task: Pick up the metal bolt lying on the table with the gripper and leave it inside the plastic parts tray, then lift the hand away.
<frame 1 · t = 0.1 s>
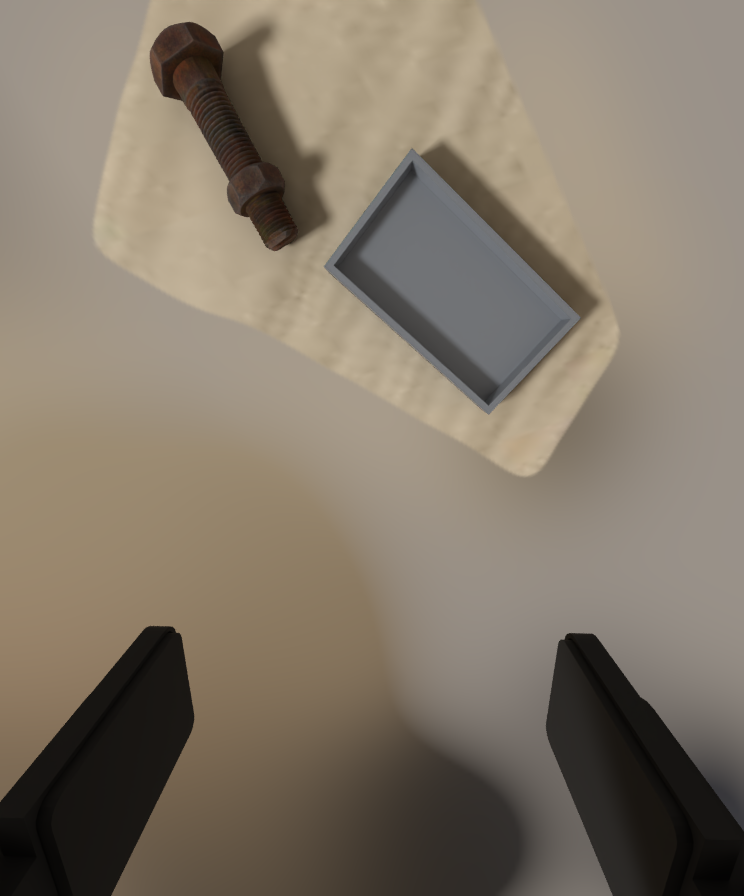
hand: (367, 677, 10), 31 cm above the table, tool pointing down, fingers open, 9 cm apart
bolt: (245, 167, 34), on the table
parts tray: (448, 295, 36), on the table
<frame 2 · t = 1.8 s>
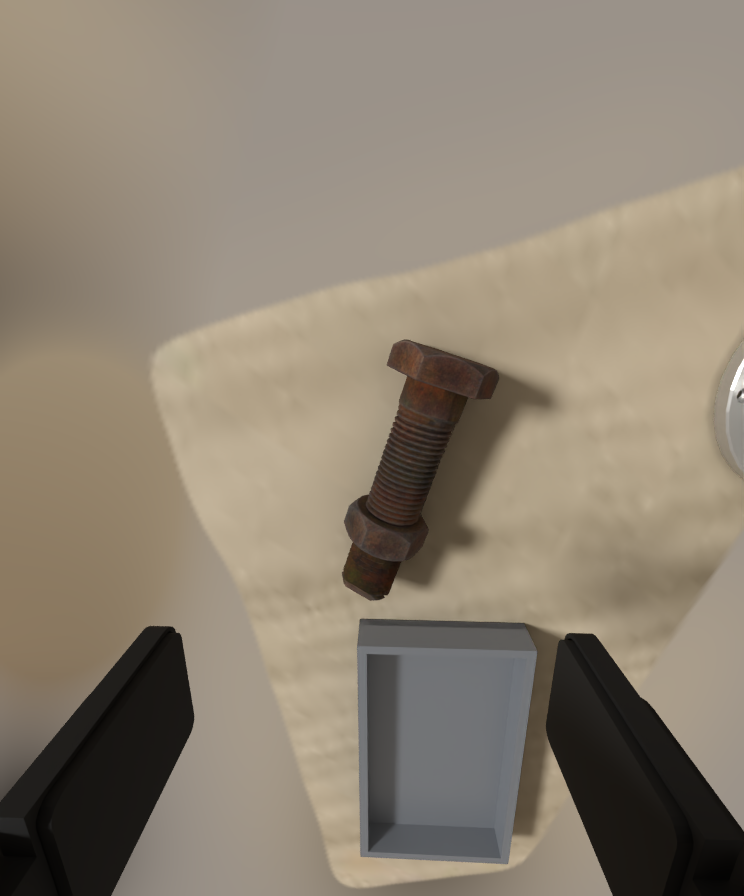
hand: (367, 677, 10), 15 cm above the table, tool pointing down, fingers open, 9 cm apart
bolt: (399, 466, 25), on the table
parts tray: (435, 730, 30), on the table
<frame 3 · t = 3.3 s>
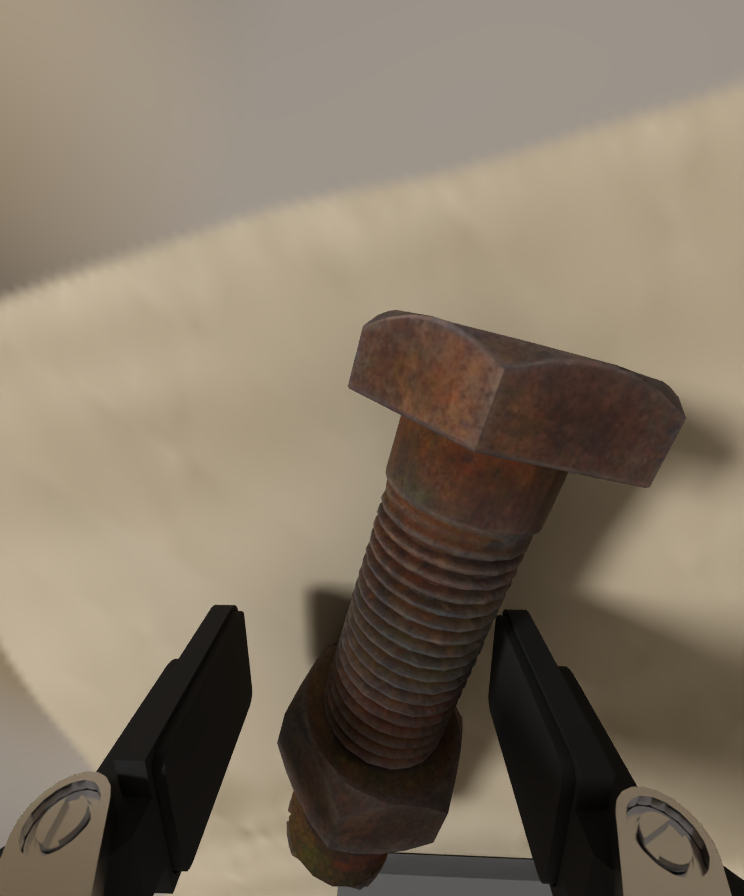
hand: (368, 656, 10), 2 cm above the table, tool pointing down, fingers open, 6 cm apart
bolt: (381, 580, 12), on the table, touching gripper
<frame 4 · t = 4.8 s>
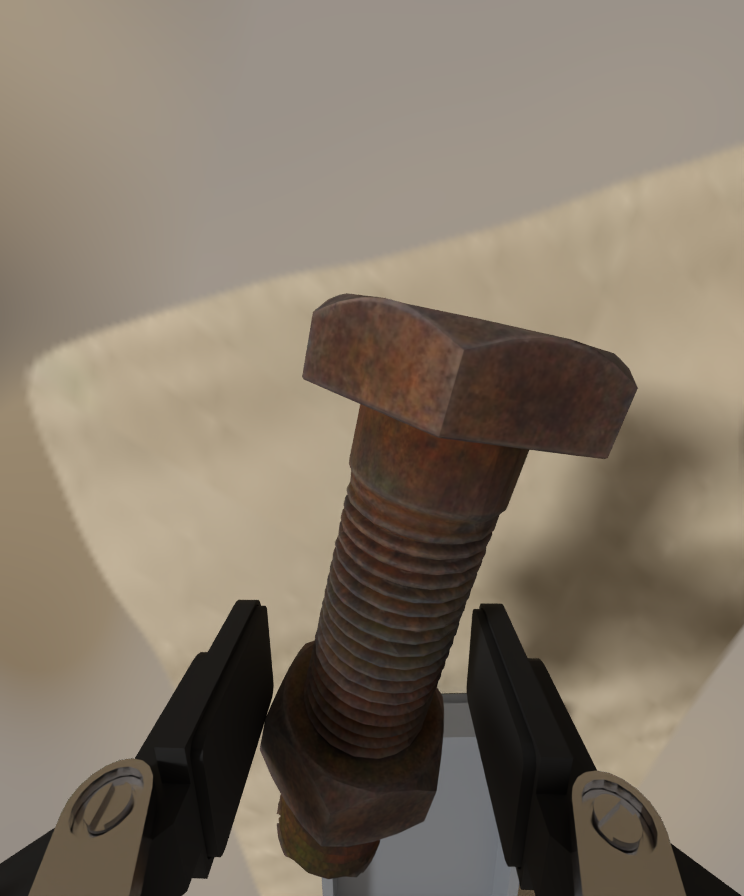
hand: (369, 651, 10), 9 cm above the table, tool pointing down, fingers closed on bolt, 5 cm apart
bolt: (353, 571, 12), point 7 cm above the table, touching gripper
parts tray: (416, 820, 24), on the table
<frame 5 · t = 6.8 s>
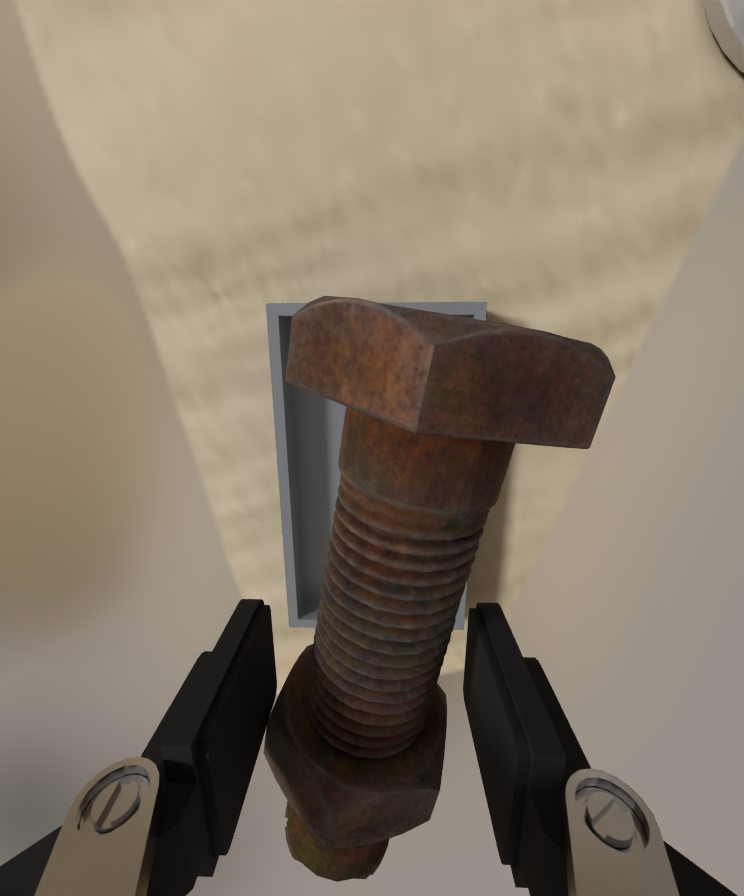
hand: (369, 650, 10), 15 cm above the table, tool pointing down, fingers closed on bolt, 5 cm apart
bolt: (351, 572, 12), point 13 cm above the table, touching gripper
parts tray: (376, 471, 25), on the table
when the fingers open (3 cm above the table, at t = 9.3 s): bolt drops 1 cm, resting on parts tray.
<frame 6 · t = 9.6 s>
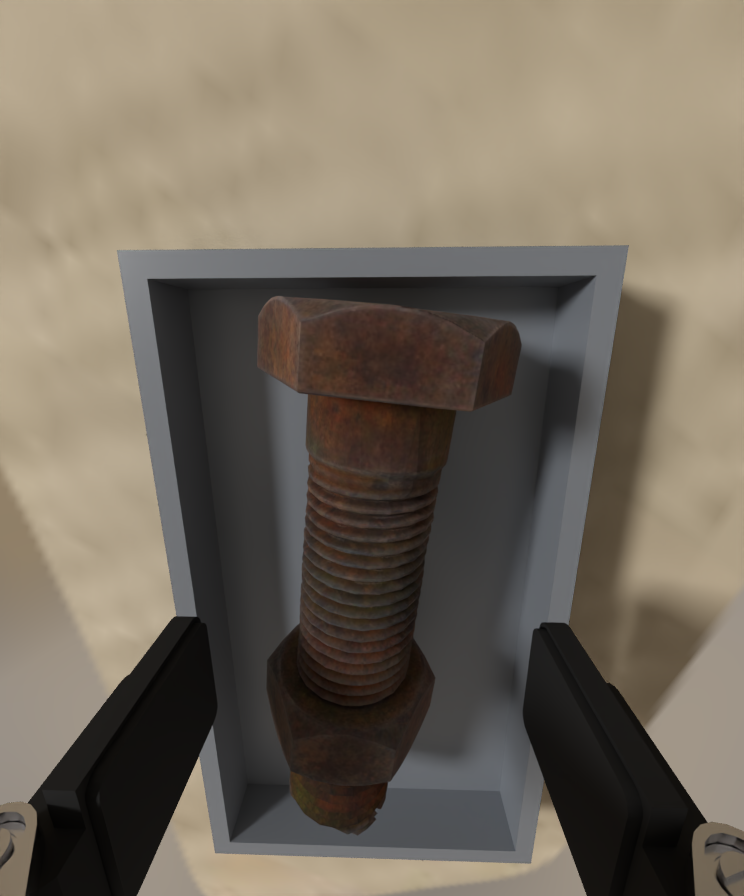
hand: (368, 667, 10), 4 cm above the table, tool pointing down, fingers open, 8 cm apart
bolt: (360, 550, 13), resting on parts tray
parts tray: (372, 575, 14), on the table
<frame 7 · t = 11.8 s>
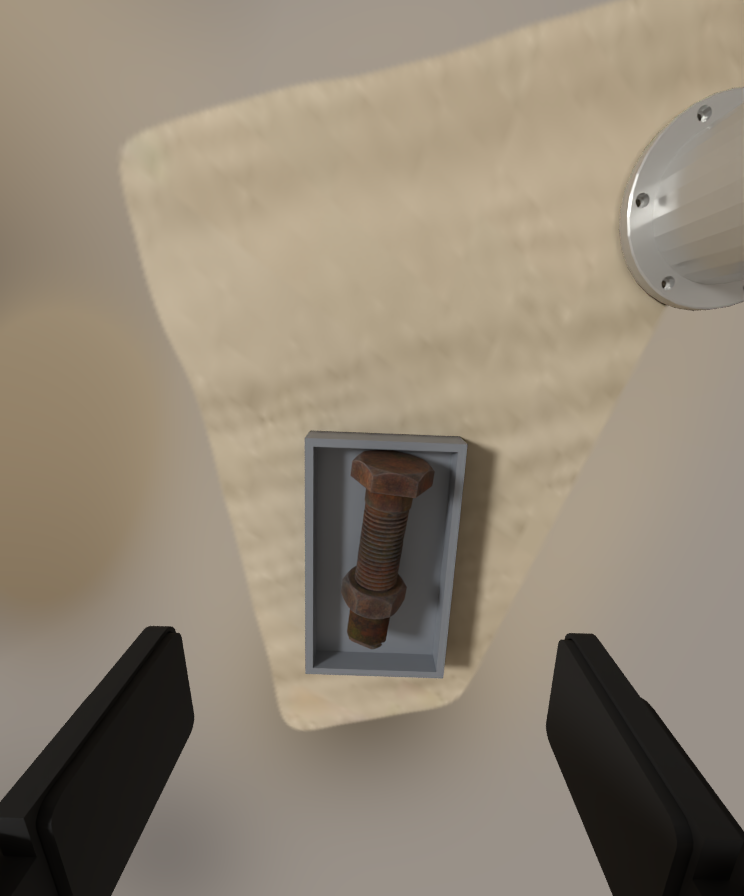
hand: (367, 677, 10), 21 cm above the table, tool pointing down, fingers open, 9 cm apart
bolt: (377, 538, 31), resting on parts tray
parts tray: (379, 551, 32), on the table
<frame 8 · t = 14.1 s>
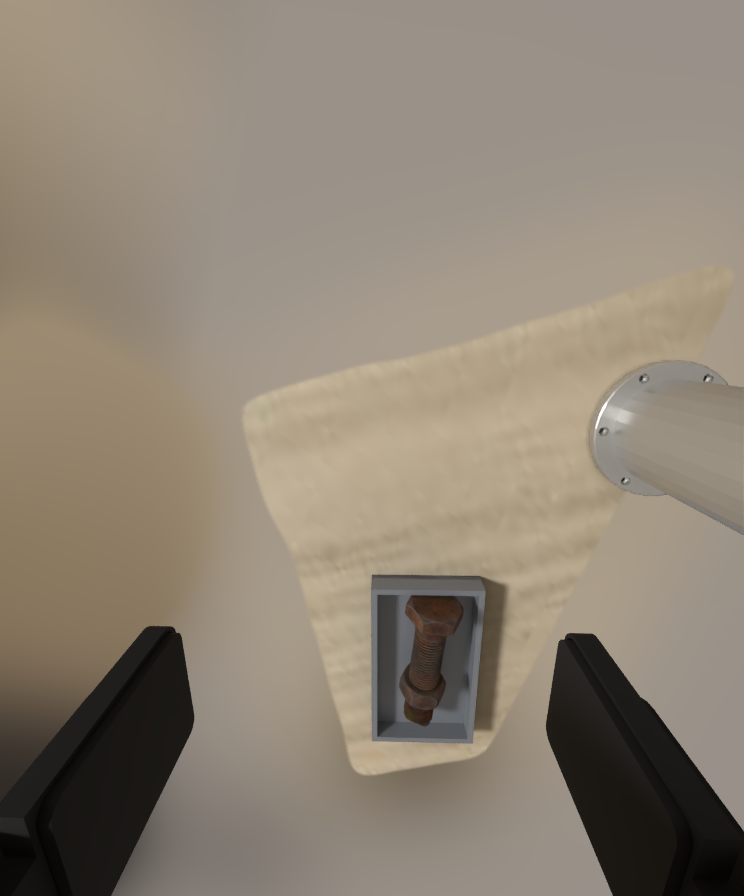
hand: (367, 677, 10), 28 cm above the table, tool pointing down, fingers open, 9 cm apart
bolt: (422, 644, 43), resting on parts tray
parts tray: (422, 652, 44), on the table
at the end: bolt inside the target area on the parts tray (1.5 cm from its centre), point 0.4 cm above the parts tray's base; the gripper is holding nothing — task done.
